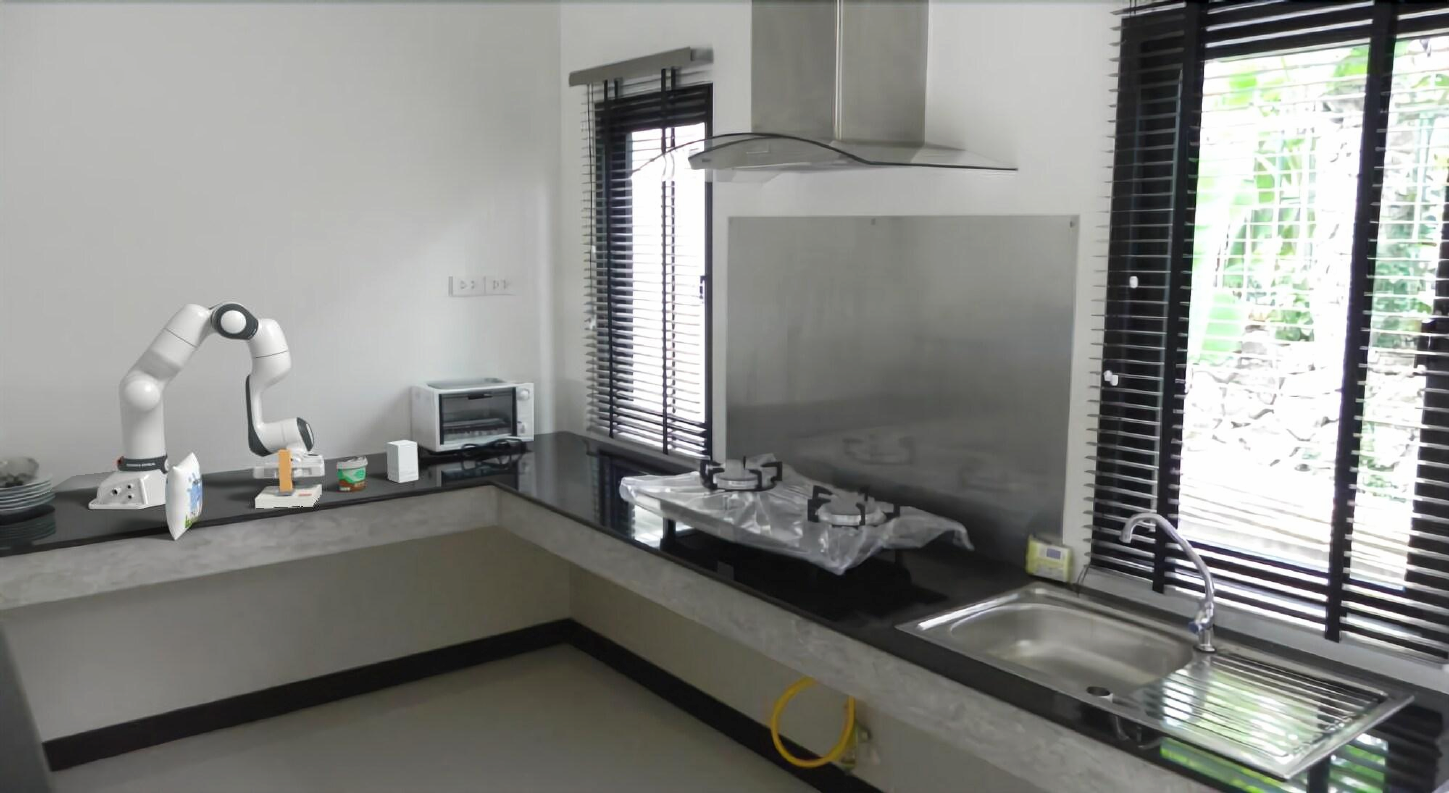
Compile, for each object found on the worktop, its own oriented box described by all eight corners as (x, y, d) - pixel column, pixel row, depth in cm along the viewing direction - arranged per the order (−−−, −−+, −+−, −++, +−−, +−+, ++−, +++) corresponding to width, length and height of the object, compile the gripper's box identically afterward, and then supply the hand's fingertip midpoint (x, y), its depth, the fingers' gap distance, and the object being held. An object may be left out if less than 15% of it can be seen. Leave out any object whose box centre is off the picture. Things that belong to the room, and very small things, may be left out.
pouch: (157, 541, 278) (152, 466, 275) (182, 522, 296) (178, 452, 293) (190, 540, 279) (185, 466, 276) (213, 521, 298) (208, 451, 295)
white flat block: (255, 508, 312) (255, 498, 311) (267, 495, 327) (266, 486, 327) (313, 506, 315) (312, 496, 314) (321, 493, 330) (321, 484, 330)
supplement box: (419, 479, 351) (417, 442, 349) (398, 483, 345) (397, 445, 344) (407, 476, 356) (406, 439, 354) (387, 479, 350) (385, 442, 348)
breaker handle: (277, 495, 314) (275, 452, 312) (281, 491, 318) (278, 449, 317) (292, 494, 314) (289, 451, 313) (295, 491, 319) (293, 448, 317)
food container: (355, 494, 330) (354, 463, 328) (337, 493, 331) (336, 462, 329) (376, 485, 342) (375, 455, 340) (358, 484, 343) (357, 454, 341)
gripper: (257, 456, 326) (246, 466, 312) (327, 454, 330) (320, 463, 317) (258, 476, 327) (248, 487, 313) (328, 474, 331) (321, 484, 317)
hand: (285, 475), depth 315 cm, fingers closed on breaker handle, 3 cm apart
